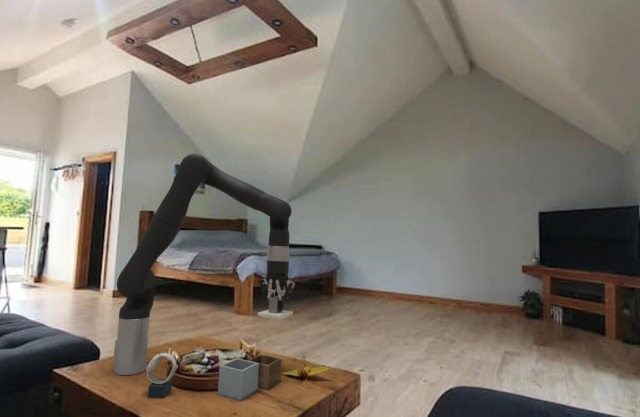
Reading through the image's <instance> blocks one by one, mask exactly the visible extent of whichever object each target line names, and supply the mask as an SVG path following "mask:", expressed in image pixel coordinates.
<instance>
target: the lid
mask: <svg viewBox="0 0 640 417" xmlns="http://www.w3.org/2000/svg"><path fill="white" fill-rule="evenodd" d="M278 300H279V298H278V295H274V297H269V308H268V309H267V310H262V311H259V312H257V317H261V318H262V319H266V320H273V321H281V320H283V319H288V317H290V316H293V314H294V312H293V311H292V310H291V311H290V310H284V309H283V310H282V311H280V312H279V311H278Z"/></svg>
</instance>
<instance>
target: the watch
mask: <svg viewBox="0 0 640 417" xmlns="http://www.w3.org/2000/svg"><path fill="white" fill-rule="evenodd" d="M162 357H164V358H167V359H168V360H169V361H170V362H171V364H172V367H171V370H170V372H169V375H167V377H166V378H156V376H155V375H154V374H153V371H154V369H155V368H156V367H157V366H158V364H159V363H160V362H161V360H162ZM177 364H178V363H177V360H176V358H175V357H174V356H173V355H172V354H170V353H169V352H161V353H160V354H159V353H157V354H155V355H154V357H152V358H151V360H150V361H149V363H147V365H146V370H145V371H146V373H145V374H146V376H147V378H148V380H149V381H150V382H151V383H150V384H149V385H148V392H147V398H149V399H150V398H151V399H165V398H166V397H167V396H168V395H169V394H170V392H171V391H172V390H173V389H172V388H173V376H174V375H175V373H176V371H177ZM168 393H169V394H168Z"/></svg>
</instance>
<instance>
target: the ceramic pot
mask: <svg viewBox="0 0 640 417" xmlns="http://www.w3.org/2000/svg"><path fill="white" fill-rule="evenodd" d="M247 360H248V359H247ZM247 360H246V359H242V358H235V359H232V360H230V361H228V362H224V363H223V364H221V365H219V370H218V371H219V372H218V386H217V396H218V395H219V396H220V397H221V396H222V397H225V398H229V399H233V400H237V401H239V402H240V401H241V402H242V401H243V400H244V399H246V398H248V397H249V396H251V395H253V394H254V393H257V392H258V389H259V388H258V370H259V363H256V362H252V361H247Z"/></svg>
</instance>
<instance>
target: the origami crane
mask: <svg viewBox="0 0 640 417" xmlns="http://www.w3.org/2000/svg"><path fill="white" fill-rule="evenodd" d="M302 361H303V365H304V368H302V367H301V366H300V365H299V366H298V367H297V368H296V369H294V370H290V371H284V372H281V375H285V376H286V375H287V376H288V375H289V376H293V377H299V378H301V377H302V380H303V381H304V380H305V381H307V380H308V378H309V376H313V375H317V374H319V373H324V372H327V371H329V372H330V371H331V370H333V369H332V368H328V367H325V366H315V367H313V368H310V367H309V366H308V362H307V360H306V357H305V354H302Z"/></svg>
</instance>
